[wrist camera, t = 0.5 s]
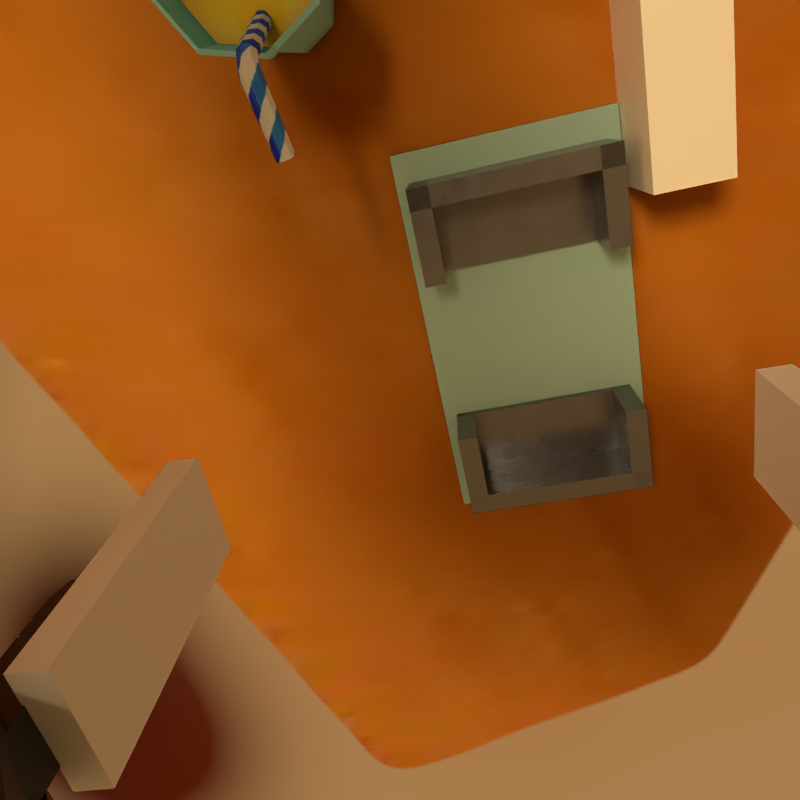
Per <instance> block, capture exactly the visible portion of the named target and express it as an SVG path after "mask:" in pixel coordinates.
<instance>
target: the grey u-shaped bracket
mask: <svg viewBox="0 0 800 800" xmlns="http://www.w3.org/2000/svg"><path fill="white" fill-rule="evenodd" d="M405 192H406V196H407V201H408V206H409V211H410V215H411V220H412V225H413V230H414V234H415V239H416V244H417V249H418V254H419V258H420V263H421V268H422V273H423V277H424V282H425V287H426V288H428V287H433V286H438V285H443V284H447V270H452V269H457V268H462V267H467V266H471V265H476V264H481V263H486V262H491V261H496V260H500V259H505V258H510V257H515V256H520V255H524V254H529V253H534V252H539V251H544V250H549V249H553V248H558V247H563V246H568V245H573V244H578V243H582V242H587V241H592V240H598V241H599V242H600V243H602V244H603V245H604V246H606V247H607V248H608V249H609V250H614V249H619V248H624V247H629V246H633V237H632V225H631V213H630V202H629V190H628V178H627V166H626V154H625V142H624V140H619V139H608V138H606V139H601V140H597V141H593V142H588V143H584V144H579V145H575V146H571V147H566V148H562V149H558V150H553V151H549V152H545V153H540V154H536V155H531V156H527V157H523V158H518V159H514V160H510V161H505V162H501V163H497V164H492V165H488V166H483V167H479V168H475V169H470V170H466V171H462V172H457V173H453V174H449V175H444V176H440V177H435V178H431V179H427V180H422V181H418V182H414V183H409V185H408V186H407V188H406V189H405Z"/></svg>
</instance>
